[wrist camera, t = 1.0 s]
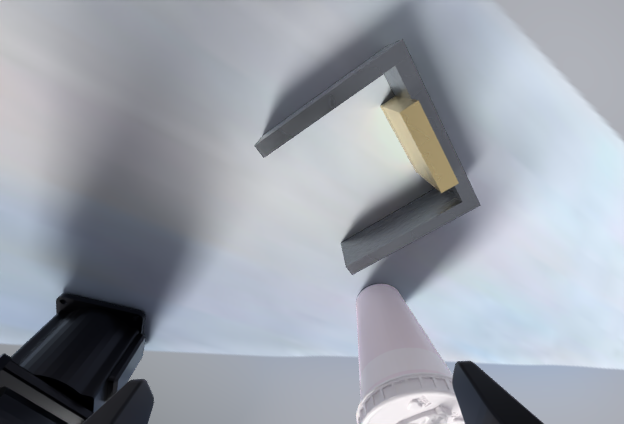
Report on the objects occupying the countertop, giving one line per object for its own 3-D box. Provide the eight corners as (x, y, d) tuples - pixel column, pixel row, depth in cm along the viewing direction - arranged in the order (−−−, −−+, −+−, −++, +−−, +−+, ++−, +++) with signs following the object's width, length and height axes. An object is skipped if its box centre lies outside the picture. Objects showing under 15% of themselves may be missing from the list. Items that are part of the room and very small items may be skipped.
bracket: (346, 250, 22) (354, 284, 18) (262, 135, 18) (250, 149, 15) (456, 188, 20) (490, 212, 16) (386, 46, 16) (409, 36, 13)
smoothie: (325, 314, 24) (345, 570, 12) (367, 256, 22) (450, 498, 9) (388, 340, 26) (468, 596, 13) (433, 288, 23) (585, 537, 11)
